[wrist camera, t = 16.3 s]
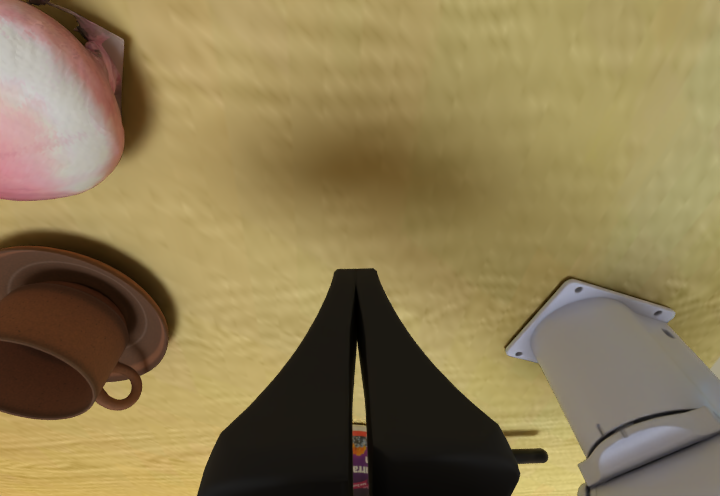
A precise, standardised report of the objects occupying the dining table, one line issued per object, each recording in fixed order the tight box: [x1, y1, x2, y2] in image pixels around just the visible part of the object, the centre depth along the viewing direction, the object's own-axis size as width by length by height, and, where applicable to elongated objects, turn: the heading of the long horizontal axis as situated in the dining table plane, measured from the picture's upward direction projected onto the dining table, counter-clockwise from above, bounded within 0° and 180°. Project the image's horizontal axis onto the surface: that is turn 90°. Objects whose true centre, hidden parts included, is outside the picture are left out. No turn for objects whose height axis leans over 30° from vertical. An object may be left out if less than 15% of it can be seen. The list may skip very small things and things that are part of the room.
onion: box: [0, 0, 125, 201], centre depth 14 cm, size 8×8×7 cm
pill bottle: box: [352, 425, 369, 496], centre depth 33 cm, size 5×5×10 cm
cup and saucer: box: [0, 246, 169, 420], centre depth 23 cm, size 12×12×6 cm
